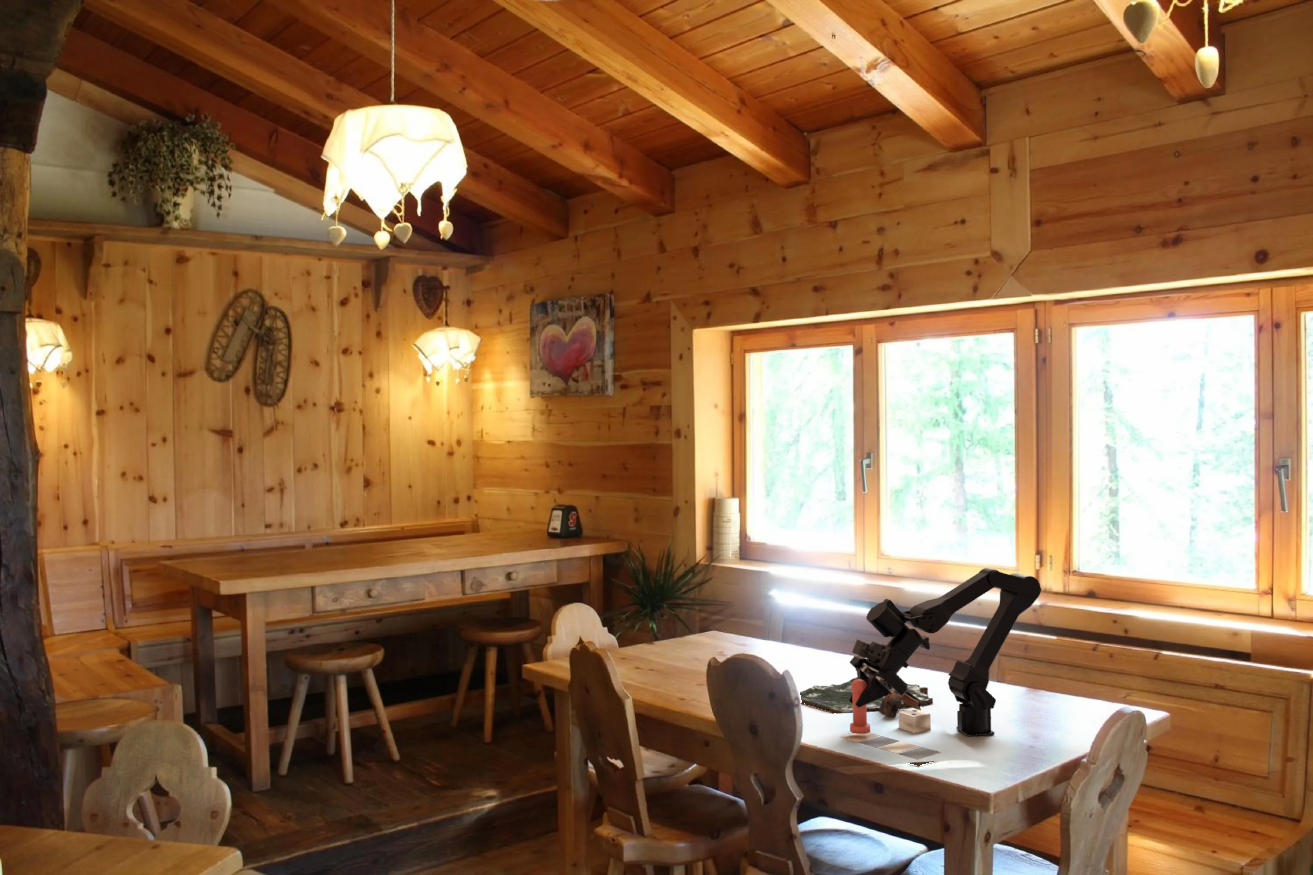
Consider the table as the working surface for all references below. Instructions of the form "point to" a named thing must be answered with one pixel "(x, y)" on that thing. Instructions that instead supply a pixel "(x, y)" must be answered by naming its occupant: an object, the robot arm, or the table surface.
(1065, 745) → the table surface
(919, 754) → the game board
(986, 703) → the robot arm
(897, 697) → the pottery mug
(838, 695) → the topographical map
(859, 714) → the pawn
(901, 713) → the die
